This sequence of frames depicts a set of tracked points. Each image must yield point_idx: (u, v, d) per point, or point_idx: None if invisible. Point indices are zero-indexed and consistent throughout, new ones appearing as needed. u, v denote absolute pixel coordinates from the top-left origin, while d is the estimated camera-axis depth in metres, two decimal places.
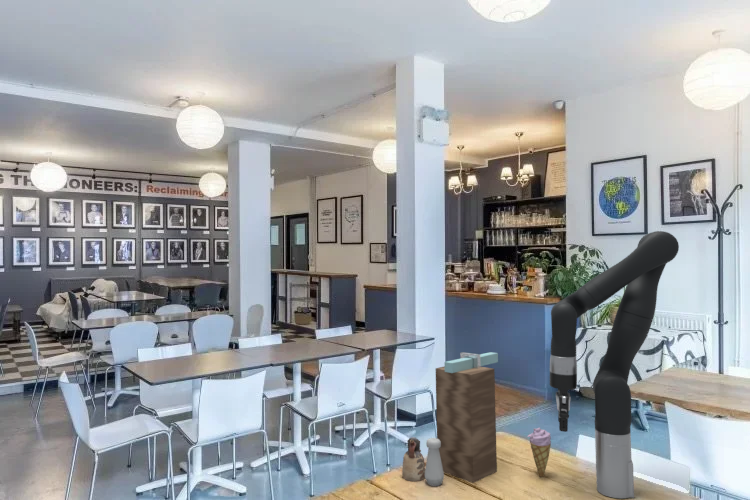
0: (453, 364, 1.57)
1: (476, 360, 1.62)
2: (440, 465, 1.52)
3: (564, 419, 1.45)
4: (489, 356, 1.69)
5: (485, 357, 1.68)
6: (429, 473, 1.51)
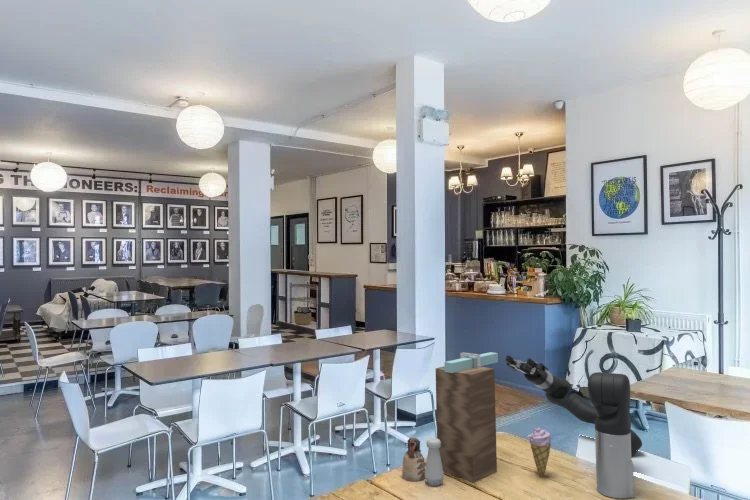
0: (453, 364, 1.57)
1: (476, 360, 1.62)
2: (440, 465, 1.52)
3: (535, 365, 1.81)
4: (489, 356, 1.69)
5: (485, 357, 1.68)
6: (429, 473, 1.51)
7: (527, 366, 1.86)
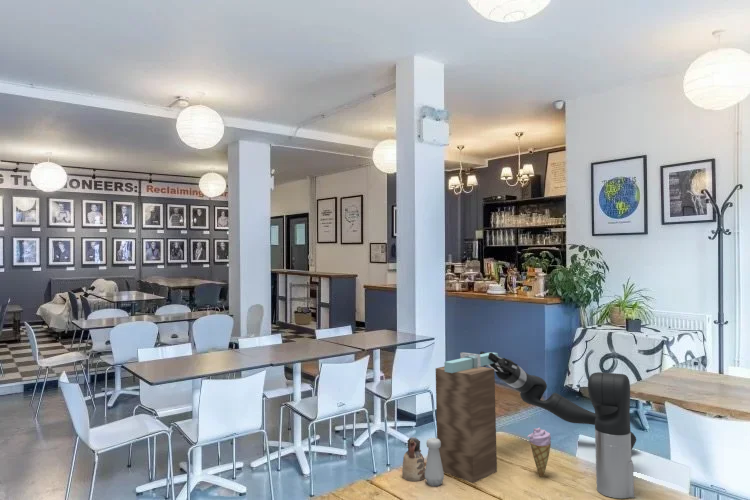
0: (453, 364, 1.57)
1: (476, 360, 1.62)
2: (440, 465, 1.52)
3: (497, 360, 1.70)
4: None
5: (485, 357, 1.68)
6: (429, 473, 1.51)
7: None
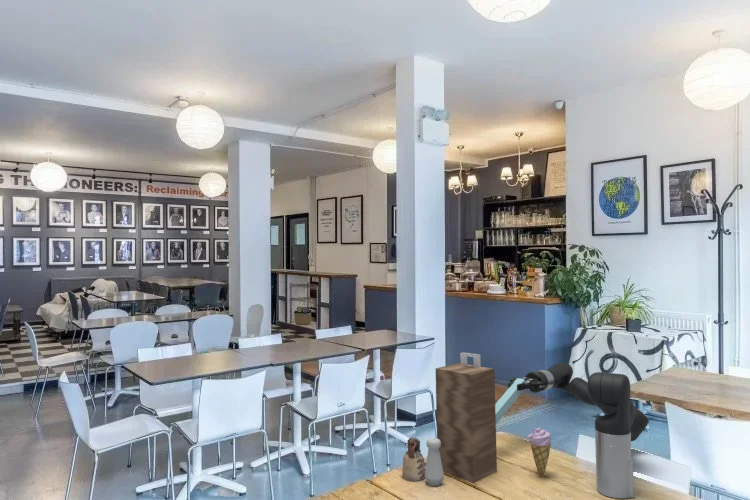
0: None
1: (476, 360, 1.62)
2: (440, 465, 1.52)
3: (526, 387, 1.81)
4: None
5: (515, 392, 1.79)
6: (429, 473, 1.51)
7: None
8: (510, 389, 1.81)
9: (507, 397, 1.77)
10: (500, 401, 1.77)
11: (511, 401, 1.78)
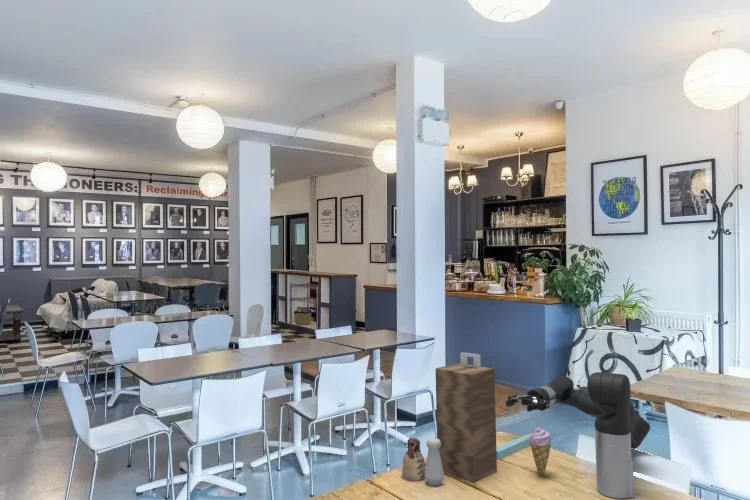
0: (499, 452, 1.71)
1: (476, 360, 1.62)
2: (440, 465, 1.52)
3: (536, 407, 1.80)
4: None
5: (526, 441, 1.82)
6: (429, 473, 1.51)
7: (528, 403, 1.85)
8: (522, 438, 1.83)
9: (519, 442, 1.79)
10: (511, 442, 1.79)
11: (521, 448, 1.79)
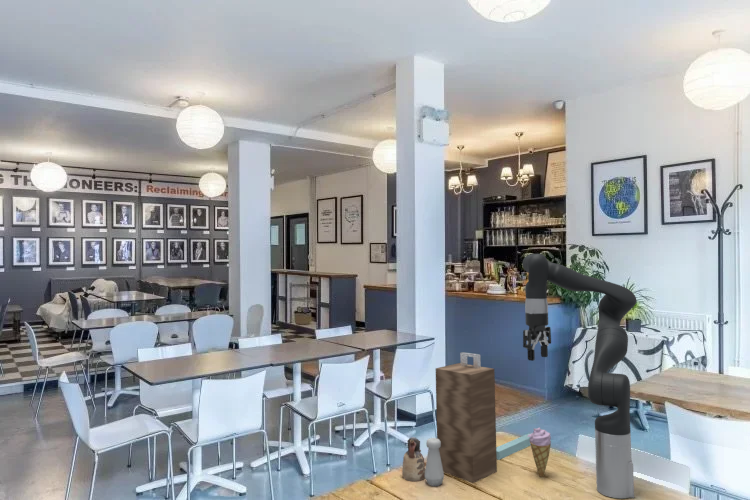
0: (499, 452, 1.71)
1: (476, 360, 1.62)
2: (440, 465, 1.52)
3: None
4: None
5: (526, 441, 1.82)
6: (429, 473, 1.51)
7: None
8: (522, 437, 1.83)
9: (519, 441, 1.79)
10: (511, 442, 1.79)
11: (521, 447, 1.79)
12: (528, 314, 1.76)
